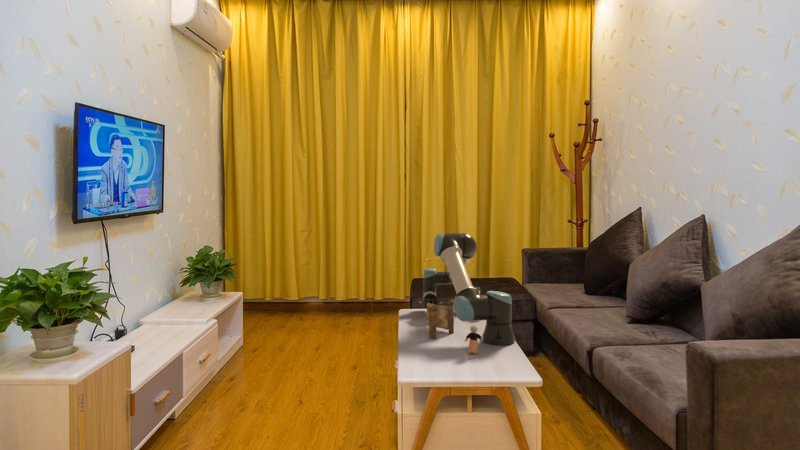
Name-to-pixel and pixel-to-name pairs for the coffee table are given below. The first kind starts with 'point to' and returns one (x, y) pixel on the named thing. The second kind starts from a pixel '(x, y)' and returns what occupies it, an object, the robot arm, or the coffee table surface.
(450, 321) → the hinge post
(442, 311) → the gate
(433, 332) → the latch post
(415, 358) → the coffee table surface
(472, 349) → the grandmother figurine
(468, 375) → the coffee table surface
